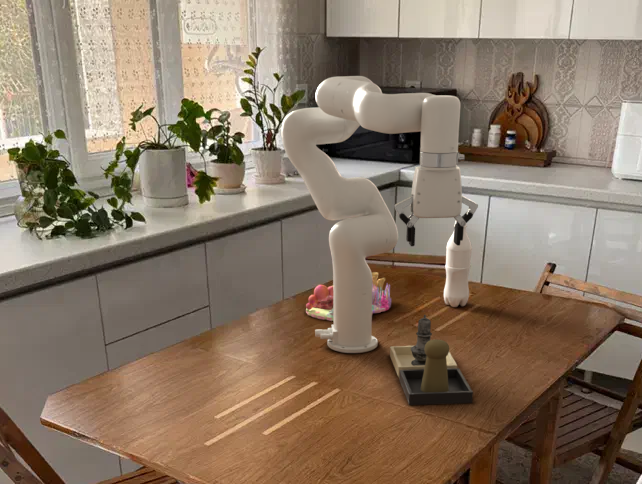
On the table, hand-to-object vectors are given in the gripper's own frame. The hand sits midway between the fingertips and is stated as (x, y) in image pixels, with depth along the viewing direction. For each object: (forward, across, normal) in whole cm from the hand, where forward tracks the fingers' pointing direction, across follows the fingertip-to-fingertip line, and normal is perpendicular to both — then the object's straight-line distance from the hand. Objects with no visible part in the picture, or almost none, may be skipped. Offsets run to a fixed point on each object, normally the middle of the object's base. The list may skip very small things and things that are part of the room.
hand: (434, 244), depth 165 cm
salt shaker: (+30, 0, -7) cm, 31 cm away
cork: (+30, 0, +8) cm, 31 cm away
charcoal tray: (+30, 0, +8) cm, 31 cm away
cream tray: (+30, 0, -7) cm, 31 cm away
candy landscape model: (+31, +13, -52) cm, 62 cm away
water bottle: (+31, -18, -53) cm, 64 cm away
